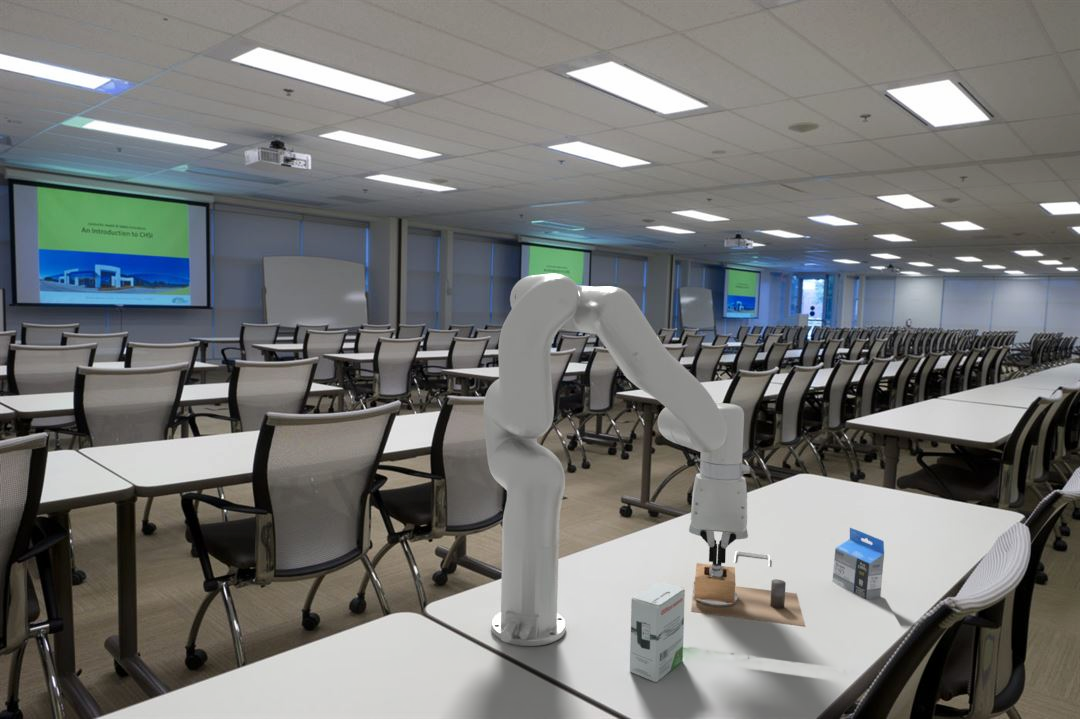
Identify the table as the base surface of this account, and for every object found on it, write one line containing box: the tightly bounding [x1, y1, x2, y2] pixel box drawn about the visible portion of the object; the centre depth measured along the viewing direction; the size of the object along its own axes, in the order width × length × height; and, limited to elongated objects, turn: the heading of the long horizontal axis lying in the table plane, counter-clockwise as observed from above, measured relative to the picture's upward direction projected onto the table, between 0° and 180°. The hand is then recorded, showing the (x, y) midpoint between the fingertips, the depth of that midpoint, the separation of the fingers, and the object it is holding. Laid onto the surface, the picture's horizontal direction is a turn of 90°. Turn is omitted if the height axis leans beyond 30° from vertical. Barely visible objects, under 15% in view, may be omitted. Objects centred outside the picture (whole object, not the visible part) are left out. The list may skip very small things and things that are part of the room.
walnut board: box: [690, 578, 806, 627], centre depth 129 cm, size 14×19×6 cm
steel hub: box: [692, 563, 737, 608], centre depth 130 cm, size 8×8×6 cm
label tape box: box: [832, 527, 885, 600], centre depth 136 cm, size 9×4×12 cm, turn 21°
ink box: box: [629, 581, 686, 683], centre depth 108 cm, size 9×5×12 cm, turn 141°
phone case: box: [733, 550, 771, 567], centre depth 150 cm, size 7×1×15 cm
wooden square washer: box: [694, 562, 736, 603], centre depth 130 cm, size 7×7×4 cm
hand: (716, 565), depth 132 cm, fingers closed
